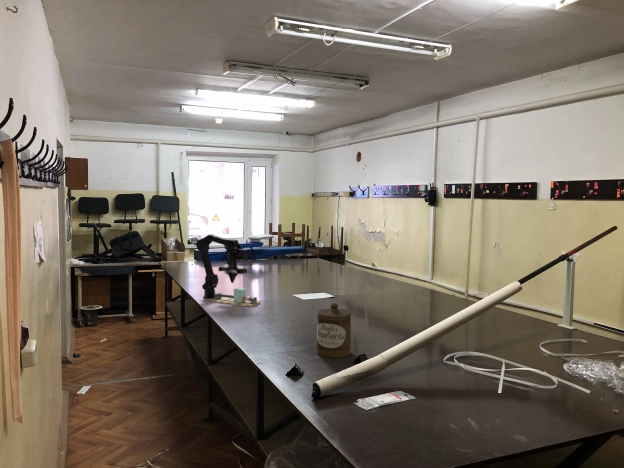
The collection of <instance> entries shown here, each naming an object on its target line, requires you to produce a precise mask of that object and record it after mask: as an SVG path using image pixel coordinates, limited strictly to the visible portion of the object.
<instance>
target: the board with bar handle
mask: <svg viewBox="0 0 624 468" xmlns="http://www.w3.org/2000/svg"><path fill="white" fill-rule="evenodd" d="M218 294H222V292H216V293H215V297H214V298H212V299H210V302H211V303H218V304H225V305H231V306H238V307H239V306H241V307H247V308H252V307H254V306H255V307H256V306H257V305H260V304H261V301H257V300H258V298H257V297H256V296H253V297H251V299H250V301H243V302H236V301H234V298H227V297H219V296H218ZM254 300H255V301H254Z"/></svg>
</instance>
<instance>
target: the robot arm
mask: <svg viewBox="0 0 624 468" xmlns="http://www.w3.org/2000/svg"><path fill="white" fill-rule="evenodd" d="M212 243H217V244H219V245H222V246H224V247H225V248H227V249H225V253H227V261H226V263H225V264H224V265H222V266H221V265H220V266H219V267H218V272H225V274H227V275H228V278H229V280H230V283H231V284H233V283H234V282H235V280H236V278H237V276H238V275H239V274H240V275H241V274H246V273H248V270H247V268H246V267H239V266H238V263H239V261H247V260H248V258H249V254H248V253H249V252H248V251H247V249H243V248H242V246H241V245H240V243H239V240H238V239H234V238H231V239H230V238H226V237H222V236H219V235H215V234H207V235H205V236H203V238H200V239H199V240H197V241H196V243H195V246H196V249H197V251H198V252H199V254H200V255H201V258H202V263H203V268H204V271H205V272H204V273H205V277H204V283H203V284H202V286H201V287H202V290H204V293H203V296H202V298H204V299H210V300H212V299H215V294H216V288H217V286H218V284H219V277H218V274H215V273H214V270H213V266H212V262H211V261H212V260H211V258H210V254H209V250H210V244H212Z"/></svg>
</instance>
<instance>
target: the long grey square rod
mask: <svg viewBox="0 0 624 468" xmlns="http://www.w3.org/2000/svg"><path fill="white" fill-rule="evenodd" d="M218 296H219V297H225V298H233V299H234V295H232V294H231V295H230V294H223V293H221V294H218ZM251 298H252V296H249V295H248V296H247V295H246V297H243V300H246V301H250V299H251ZM254 301H255V300H254Z"/></svg>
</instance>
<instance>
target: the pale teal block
mask: <svg viewBox="0 0 624 468" xmlns="http://www.w3.org/2000/svg"><path fill="white" fill-rule="evenodd" d="M233 296H234V298H233V299H234V301H236V302H243V301H246V300H243V297H247V288H241V287H236V288H234V289H233Z"/></svg>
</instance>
